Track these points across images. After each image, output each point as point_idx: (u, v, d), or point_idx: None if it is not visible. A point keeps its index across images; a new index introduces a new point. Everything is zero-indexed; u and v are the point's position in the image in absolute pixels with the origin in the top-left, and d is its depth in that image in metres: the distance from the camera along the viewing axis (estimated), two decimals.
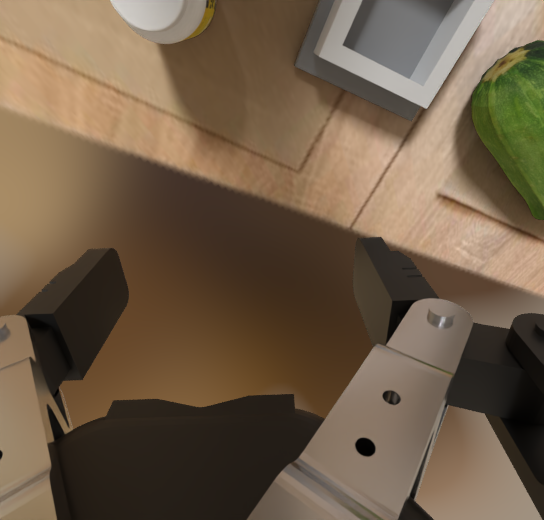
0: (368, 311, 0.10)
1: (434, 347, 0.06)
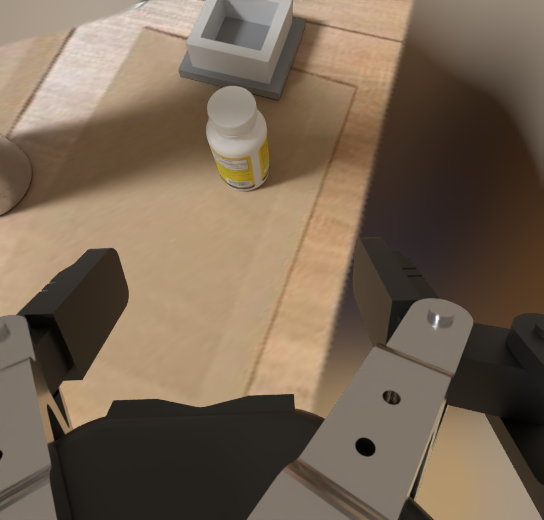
0: (368, 311, 0.10)
1: (435, 347, 0.06)
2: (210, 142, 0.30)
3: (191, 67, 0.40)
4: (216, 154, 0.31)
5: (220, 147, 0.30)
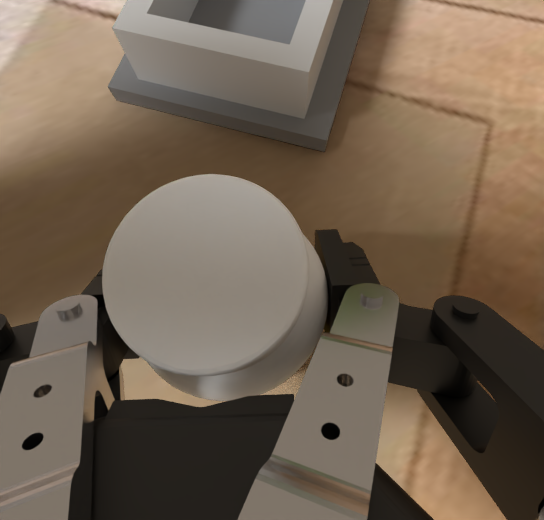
0: None
1: (371, 327, 0.07)
2: None
3: (135, 81, 0.19)
4: None
5: (170, 380, 0.08)
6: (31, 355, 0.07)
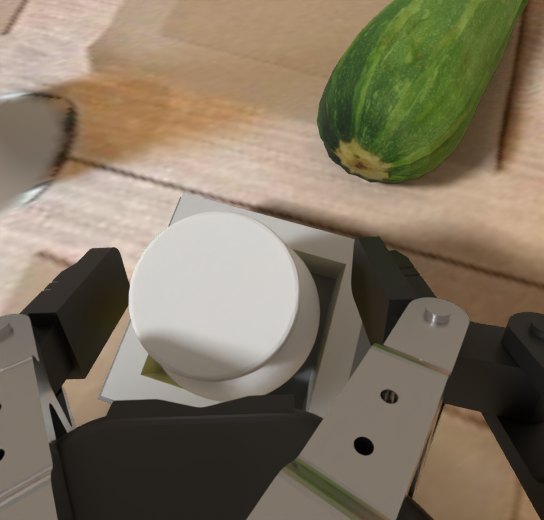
0: (366, 310, 0.10)
1: (431, 346, 0.06)
2: None
3: None
4: None
5: (182, 383, 0.10)
6: None
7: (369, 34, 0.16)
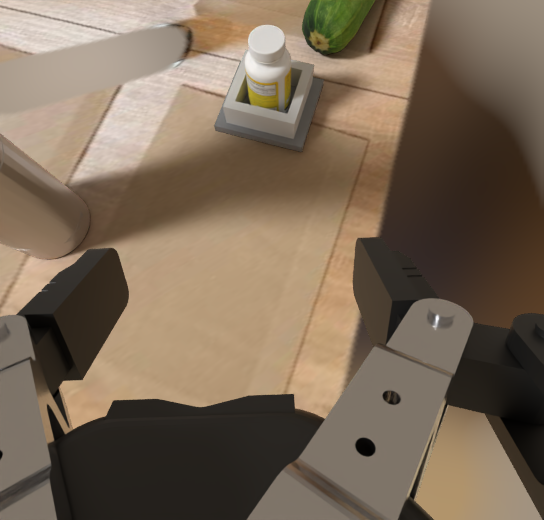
0: (368, 311, 0.10)
1: (435, 347, 0.06)
2: (248, 70, 0.39)
3: (225, 123, 0.46)
4: (251, 81, 0.40)
5: (256, 73, 0.39)
6: None
7: None
